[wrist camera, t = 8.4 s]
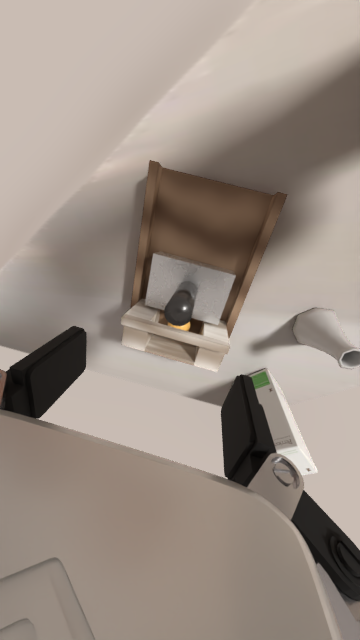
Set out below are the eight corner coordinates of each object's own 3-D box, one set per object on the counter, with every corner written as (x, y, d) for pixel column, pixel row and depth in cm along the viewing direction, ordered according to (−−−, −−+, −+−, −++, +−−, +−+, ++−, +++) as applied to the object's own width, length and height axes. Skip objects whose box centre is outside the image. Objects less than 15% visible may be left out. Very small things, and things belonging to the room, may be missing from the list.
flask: (291, 346, 35) (319, 383, 26) (291, 310, 33) (322, 338, 24) (335, 341, 34) (381, 379, 25) (339, 303, 31) (392, 330, 22)
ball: (163, 337, 33) (169, 323, 36) (185, 343, 33) (189, 329, 36) (166, 320, 30) (172, 306, 33) (190, 327, 30) (194, 312, 33)
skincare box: (267, 366, 38) (300, 443, 24) (282, 389, 40) (322, 473, 25) (230, 382, 41) (240, 460, 27) (245, 403, 42) (263, 485, 28)
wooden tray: (156, 168, 27) (129, 134, 18) (278, 199, 27) (314, 179, 18) (134, 319, 38) (110, 346, 29) (221, 344, 37) (225, 379, 28)
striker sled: (160, 251, 30) (128, 260, 19) (232, 270, 30) (247, 292, 18) (151, 297, 34) (120, 330, 22) (216, 315, 33) (220, 358, 21)
